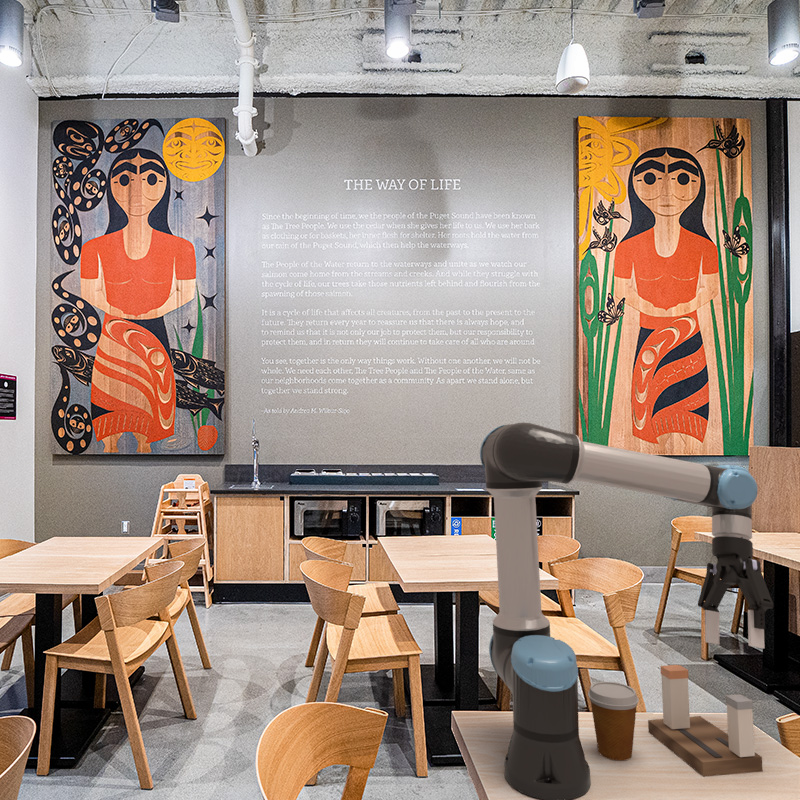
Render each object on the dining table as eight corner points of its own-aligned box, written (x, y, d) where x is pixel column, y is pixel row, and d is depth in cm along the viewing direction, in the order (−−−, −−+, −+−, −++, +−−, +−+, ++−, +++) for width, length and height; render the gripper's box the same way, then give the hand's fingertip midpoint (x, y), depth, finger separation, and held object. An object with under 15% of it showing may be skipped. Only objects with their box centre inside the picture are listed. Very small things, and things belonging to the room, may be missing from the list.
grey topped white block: (728, 749, 116) (725, 695, 116) (743, 747, 116) (740, 694, 117) (740, 757, 112) (737, 702, 113) (755, 756, 113) (752, 700, 114)
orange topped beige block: (662, 722, 127) (660, 665, 128) (681, 721, 128) (678, 664, 129) (671, 729, 124) (669, 671, 125) (690, 728, 124) (688, 670, 125)
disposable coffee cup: (645, 767, 114) (642, 700, 115) (592, 762, 116) (590, 697, 117) (636, 744, 124) (633, 682, 125) (587, 739, 126) (585, 679, 127)
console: (648, 732, 129) (647, 715, 129) (700, 728, 131) (699, 711, 131) (703, 776, 111) (702, 756, 111) (762, 771, 113) (761, 751, 113)
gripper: (792, 535, 118) (797, 652, 111) (712, 547, 141) (712, 645, 134) (755, 527, 117) (758, 645, 110) (681, 541, 141) (680, 638, 134)
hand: (733, 645), depth 122 cm, fingers open, 13 cm apart
